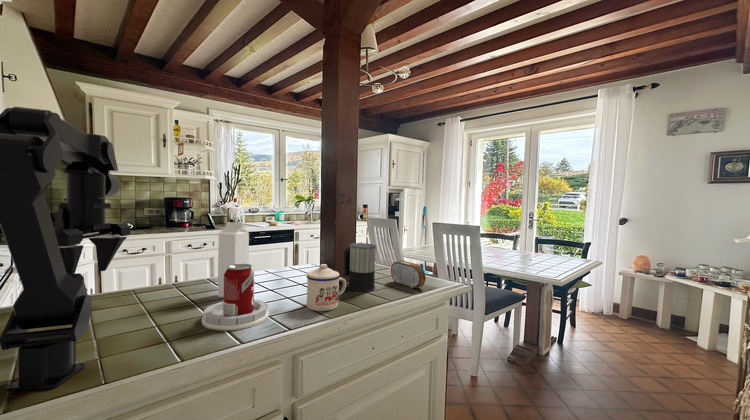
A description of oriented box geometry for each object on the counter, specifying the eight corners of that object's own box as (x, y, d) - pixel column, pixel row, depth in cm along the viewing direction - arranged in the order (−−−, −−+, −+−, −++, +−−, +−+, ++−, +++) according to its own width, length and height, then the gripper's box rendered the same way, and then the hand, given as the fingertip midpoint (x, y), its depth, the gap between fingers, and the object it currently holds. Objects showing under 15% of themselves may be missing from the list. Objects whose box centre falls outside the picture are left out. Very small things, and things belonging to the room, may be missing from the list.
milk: (232, 291, 99) (233, 221, 98) (248, 293, 97) (249, 222, 96) (217, 297, 93) (218, 222, 92) (234, 299, 91) (235, 223, 91)
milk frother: (380, 287, 108) (381, 244, 108) (354, 299, 95) (355, 250, 94) (346, 281, 116) (348, 240, 115) (318, 291, 102) (319, 245, 102)
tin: (425, 290, 107) (426, 265, 107) (419, 291, 105) (420, 266, 105) (395, 280, 118) (395, 258, 118) (388, 281, 116) (389, 259, 116)
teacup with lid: (315, 314, 81) (316, 269, 81) (300, 304, 88) (301, 263, 88) (353, 305, 89) (355, 264, 88) (337, 297, 96) (338, 259, 95)
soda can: (233, 322, 72) (234, 270, 71) (217, 315, 76) (218, 266, 75) (259, 314, 77) (260, 265, 77) (243, 308, 81) (244, 262, 81)
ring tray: (262, 329, 71) (262, 318, 71) (190, 331, 69) (190, 320, 69) (273, 306, 86) (273, 297, 86) (214, 308, 83) (214, 299, 83)
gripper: (76, 196, 70) (76, 266, 71) (-12, 196, 52) (-11, 290, 52) (132, 198, 72) (131, 266, 73) (65, 198, 54) (65, 289, 54)
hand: (86, 276), depth 63 cm, fingers open, 9 cm apart
